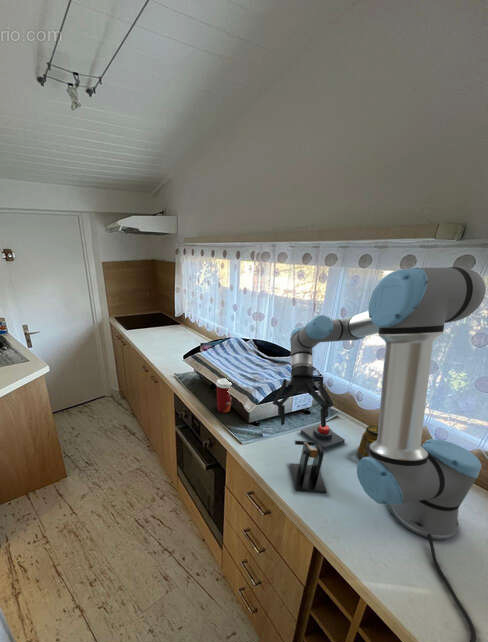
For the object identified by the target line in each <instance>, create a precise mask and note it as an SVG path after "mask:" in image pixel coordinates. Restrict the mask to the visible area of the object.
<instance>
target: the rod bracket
mask: <svg viewBox="0 0 488 642" xmlns="http://www.w3.org/2000/svg"><path fill="white" fill-rule="evenodd" d="M315 448H316V449H317V450H318V456H317V458H313V460H312V464H309V459H310V457H309V454H310V451H309V448H308V445H307V443H304V444H303V445H302V449H301V454H300V459H299V463H293V462H291V463H289V470H290V474H291V477H292V482H293V486H294V491H296V492H306V493H318V494H319V493H320V494H327V489H326V486H325V483H324V480H323V477H322V475H321V472H320V471H321V467H322V465H323V460H324V455H325V450H323V449H322V447H321V444H317V445H316V447H315Z"/></svg>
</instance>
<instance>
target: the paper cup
mask: <svg viewBox="0 0 488 642" xmlns="http://www.w3.org/2000/svg"><path fill="white" fill-rule="evenodd" d="M227 379H228V378H227ZM227 379H226V377H221V378H218V379H217V381H216V382H215V386H216V407H217V411H218V412H220V413H225V414H226V413H228V412H230V410H231V404H232V397H233V396H232V397H231V396H230V394H229V393H228V392H227V391H228V389H229V388H230V386H231V385H232V383H231V382H229V381H228V380H227Z"/></svg>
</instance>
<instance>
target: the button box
mask: <svg viewBox="0 0 488 642" xmlns="http://www.w3.org/2000/svg"><path fill="white" fill-rule="evenodd" d="M319 425H321V423H318V424H314V425H311V426H309V427H305V428H302V429H301V430H300V435H302V436H304V438H306V439H308V441H314V445H316V446H317V444H321V447H322V449H323V451H326V450H330V449H331V448H334V447H337V446H340V445H343V444H345V442H346V439H345V438H343V437H341V436H340V435H338V434H337V433H335V432H334V431H333V429H331V428H330V427H329V432H328V434H323V433H320V432H318V429H319Z"/></svg>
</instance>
